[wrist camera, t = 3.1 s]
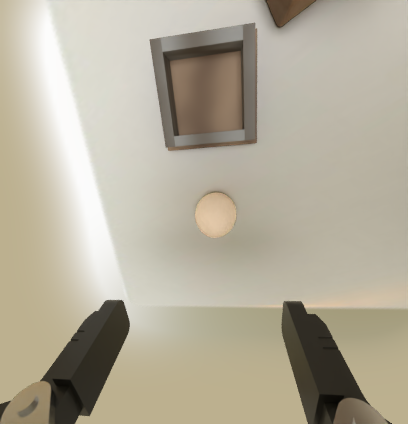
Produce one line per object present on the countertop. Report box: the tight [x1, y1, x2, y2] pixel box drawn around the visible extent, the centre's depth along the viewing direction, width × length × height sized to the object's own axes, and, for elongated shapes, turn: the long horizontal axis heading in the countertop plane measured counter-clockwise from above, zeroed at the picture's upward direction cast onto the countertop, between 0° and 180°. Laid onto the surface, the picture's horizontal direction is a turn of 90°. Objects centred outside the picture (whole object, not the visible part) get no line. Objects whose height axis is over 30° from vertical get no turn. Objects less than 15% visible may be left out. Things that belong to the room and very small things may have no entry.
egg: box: [195, 192, 236, 238], centre depth 23 cm, size 5×5×7 cm
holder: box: [150, 23, 257, 151], centre depth 20 cm, size 10×10×4 cm
